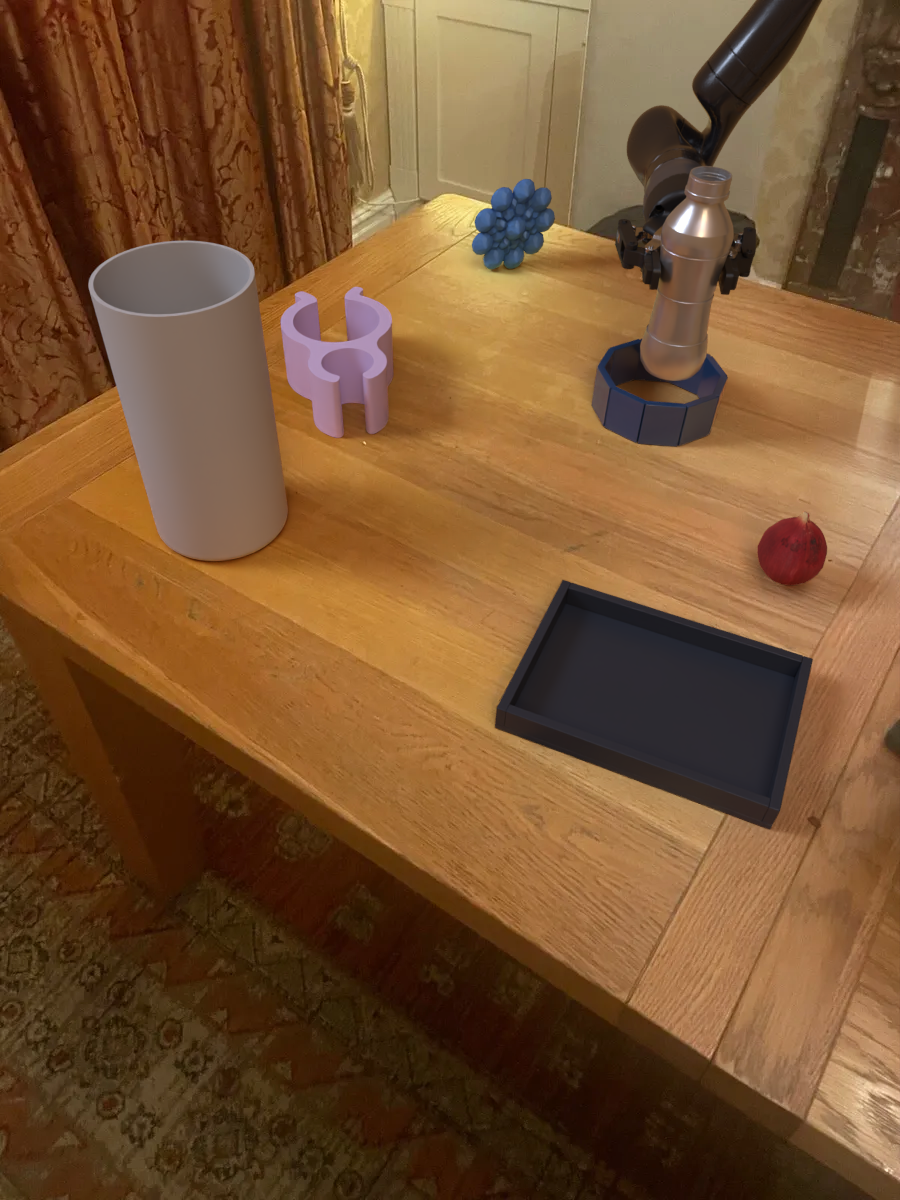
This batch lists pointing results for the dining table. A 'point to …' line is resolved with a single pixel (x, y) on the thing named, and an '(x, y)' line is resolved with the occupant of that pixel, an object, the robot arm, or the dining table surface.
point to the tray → (660, 701)
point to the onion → (792, 550)
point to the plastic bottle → (688, 276)
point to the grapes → (513, 224)
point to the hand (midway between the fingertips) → (691, 282)
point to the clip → (340, 360)
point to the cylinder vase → (195, 393)
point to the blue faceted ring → (653, 417)
